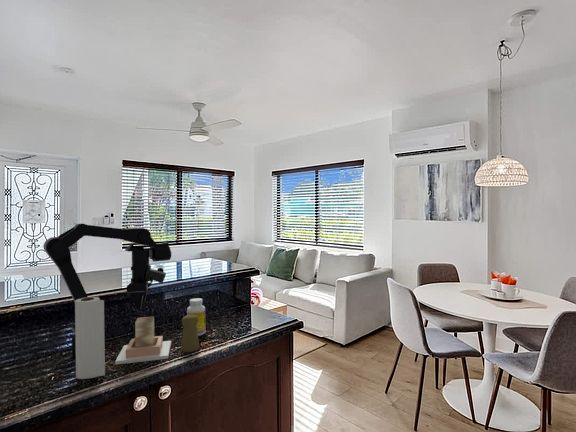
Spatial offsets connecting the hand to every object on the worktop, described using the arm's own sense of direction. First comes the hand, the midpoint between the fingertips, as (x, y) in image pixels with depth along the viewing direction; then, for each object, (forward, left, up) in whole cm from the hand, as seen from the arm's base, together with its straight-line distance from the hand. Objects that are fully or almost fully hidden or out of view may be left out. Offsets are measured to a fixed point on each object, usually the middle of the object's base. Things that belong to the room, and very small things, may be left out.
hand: (141, 306), depth 122 cm
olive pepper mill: (+17, -13, -12) cm, 25 cm away
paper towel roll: (-10, -25, -12) cm, 30 cm away
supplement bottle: (+19, +1, -12) cm, 23 cm away
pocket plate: (+3, -13, -12) cm, 18 cm away
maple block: (+3, -13, -11) cm, 17 cm away
